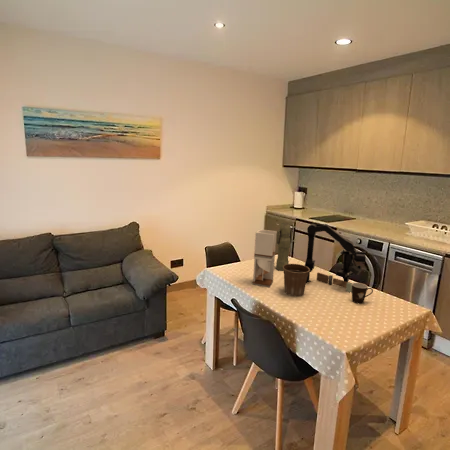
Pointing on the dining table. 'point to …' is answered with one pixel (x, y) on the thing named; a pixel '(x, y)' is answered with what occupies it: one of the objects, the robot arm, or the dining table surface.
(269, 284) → the grey dispenser tower
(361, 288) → the coffee mug
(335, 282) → the gate
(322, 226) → the robot arm
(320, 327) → the dining table surface
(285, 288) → the plant pot
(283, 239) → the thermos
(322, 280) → the hinge post
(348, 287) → the latch stile
